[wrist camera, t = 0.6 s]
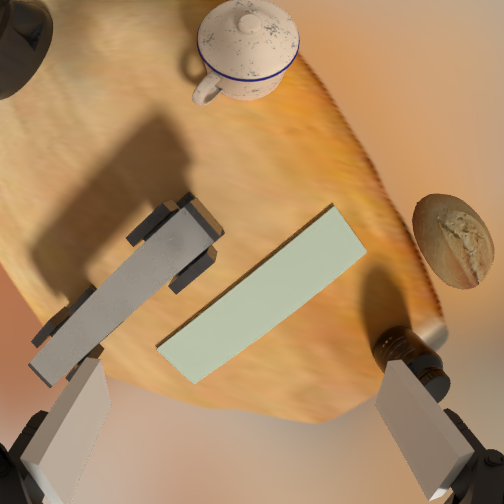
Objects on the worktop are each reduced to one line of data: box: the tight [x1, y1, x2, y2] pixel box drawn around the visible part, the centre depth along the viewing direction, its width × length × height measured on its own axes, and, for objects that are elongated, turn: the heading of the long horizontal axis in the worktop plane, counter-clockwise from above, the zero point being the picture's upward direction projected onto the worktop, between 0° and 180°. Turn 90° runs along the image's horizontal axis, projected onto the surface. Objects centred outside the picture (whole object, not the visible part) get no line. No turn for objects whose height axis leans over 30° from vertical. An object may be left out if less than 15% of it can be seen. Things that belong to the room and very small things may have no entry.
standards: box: [31, 192, 225, 382], centre depth 31 cm, size 6×23×10 cm, turn 130°
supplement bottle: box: [374, 326, 451, 403], centre depth 35 cm, size 7×7×12 cm
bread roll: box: [412, 194, 494, 289], centre depth 34 cm, size 10×15×8 cm, turn 53°
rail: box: [28, 198, 222, 388], centre depth 27 cm, size 4×25×4 cm, turn 130°
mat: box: [156, 206, 367, 384], centre depth 38 cm, size 7×28×1 cm, turn 130°
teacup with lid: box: [192, 0, 300, 106], centre depth 26 cm, size 12×9×12 cm
